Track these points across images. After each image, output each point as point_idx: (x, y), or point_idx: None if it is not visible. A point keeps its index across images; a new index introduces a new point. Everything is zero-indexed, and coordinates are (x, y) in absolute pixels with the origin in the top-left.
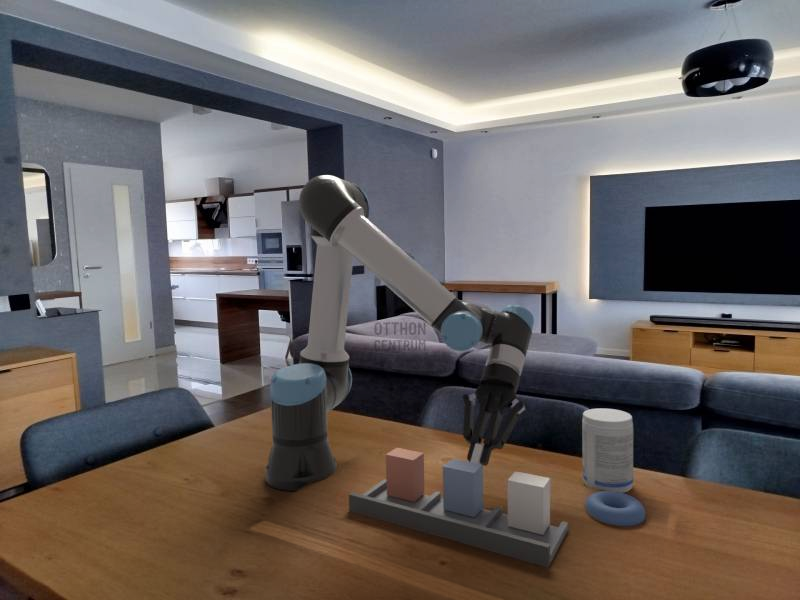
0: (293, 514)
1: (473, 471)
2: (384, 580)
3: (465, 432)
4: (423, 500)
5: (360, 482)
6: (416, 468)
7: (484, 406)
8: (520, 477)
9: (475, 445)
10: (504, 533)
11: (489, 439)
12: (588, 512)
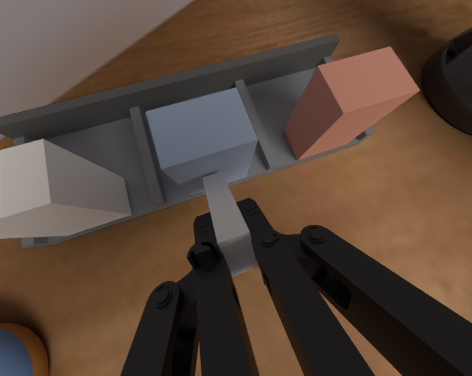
0: (365, 34)
1: (153, 117)
2: (184, 27)
3: (334, 244)
4: (280, 146)
5: (409, 138)
6: (311, 99)
7: None
8: (17, 177)
9: (243, 225)
10: (68, 105)
11: (201, 281)
12: (17, 338)
